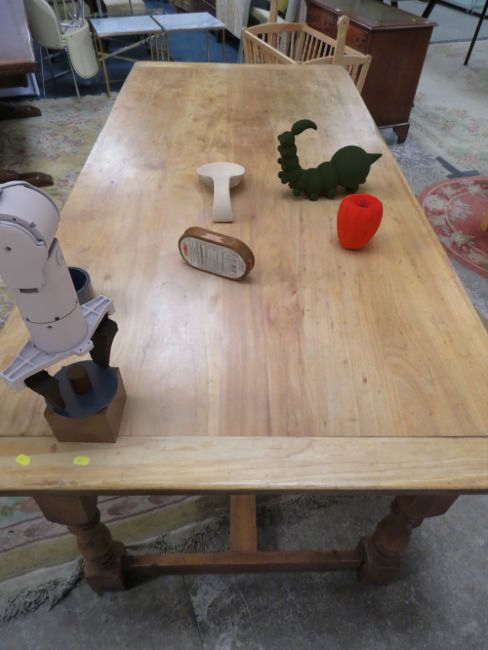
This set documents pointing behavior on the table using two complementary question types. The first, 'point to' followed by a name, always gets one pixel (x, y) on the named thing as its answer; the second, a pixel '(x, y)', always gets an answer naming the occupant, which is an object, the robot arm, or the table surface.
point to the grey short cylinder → (82, 285)
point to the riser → (91, 421)
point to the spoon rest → (221, 186)
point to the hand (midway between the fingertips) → (80, 384)
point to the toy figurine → (322, 166)
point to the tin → (216, 253)
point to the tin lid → (85, 389)
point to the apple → (358, 220)
